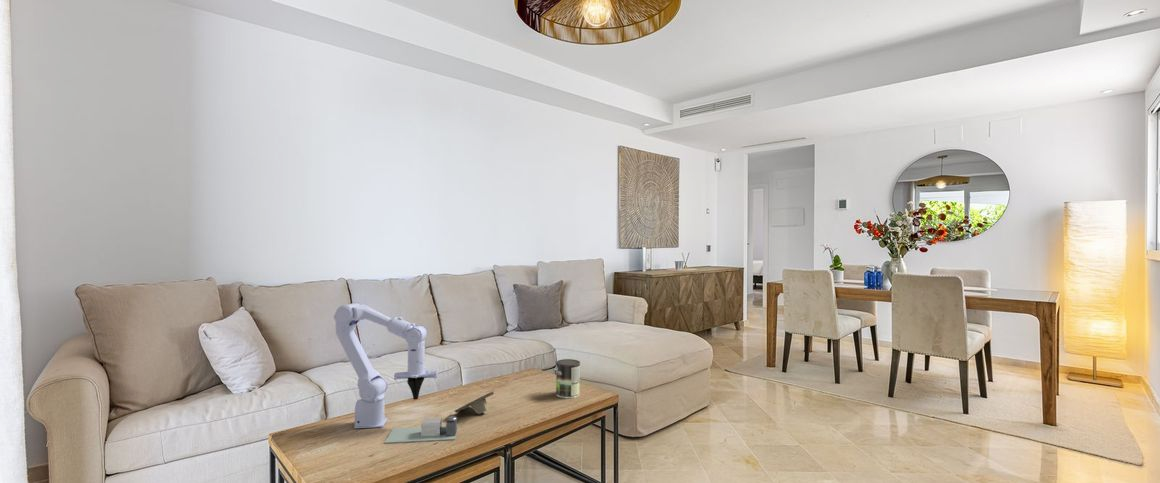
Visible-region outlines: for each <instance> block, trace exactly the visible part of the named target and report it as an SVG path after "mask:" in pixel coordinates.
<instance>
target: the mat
mask: <svg viewBox="0 0 1160 483" xmlns="http://www.w3.org/2000/svg"><path fill="white" fill-rule="evenodd" d="M442 427H446V425H442ZM458 428H459V424H457V430H458ZM457 432H458V431H457ZM457 432H456V435H455V436H446V434H440V437H421V426H413V427H412V426H411V427H410V426H408V427H393V428H392V429H391V431H390V433H389V434H388V436H387V437H386V440H384V444H385V445H388V444H403V443H405V444H406V443H423V442H424V443H425V442H441V441H442V442H443V441H444V442H445V441H455V440H456V437H457V434H458V433H457Z"/></svg>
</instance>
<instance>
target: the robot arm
mask: <svg viewBox="0 0 1160 483" xmlns="http://www.w3.org/2000/svg"><path fill="white" fill-rule="evenodd" d="M333 319H334V321H335V334H336V337H337V338H338V340H339V343H340V344H341V346H342V348H343V350H344V352H345V354H346V356H347V358H348V359H349V361H350V363H351V366H352V367H353V369H354V371H355V373H356V375H357V377H358V379H357V384H356V385H357V387H358V393H359V394H358V396H359V397H360V399H356V400H357V401H356V402H355V406H354V426H353V429H368V428H369V429H371V428H372V429H373V428H374V429H375V428H383V427H384V425H385V424H386V423H387V421H388V419H389V418H388V417H385V404H386V403H385V402H386V401H385V400H386V399H385V398H386V396H385V393H386V391H387V390H388V387H389V386H388V385H389V384H388V381H387V379H385V378H384V377H383V376H382V375H381V372H379V371H377V370H376V369H375V368H374V367H373V365H372V364H371V362H370V359H369V357H368V355H367V353H366V351H365V349H364V348H363V346H362V344H361V342H360V340H359V338H358V336H357V334H356V333H355V329H356V327H357V326H358V323H359V322H360V321H362V320H368V321H370V322H373V323H375V324H378V325H380V326H383V327H385V328H386V330H387V332H388V333H391V334H393V335H395V336H398V337H400V338H402V339H405V341H406V343H407V371H402V372H401V371H400V372H395V373H394V374H393V380H396V381H397V380H402V379H403V380H404V379H407V380H406V382H407V385H408V387H409V389H410V390H411V395H412V399H413V400H419V396H420V391H421V389H422V385H423V383H424V380H425V379H438V376H439V375H438V371H437V370H436V371H432V370H425V369H426V368H425V366H426V365H425V360H426V359H425V356H426V355H425V354H426V352H425V351H426V349H425V347H426V345H425V344H426V343H425V342H426V339H427V336H428V331H427V328H426V327H425V326H423V325H422V324H416V323H415V322H412V323H411V322H409V321H407V320H405V319H404V317H402V316H398V317H397V316H395V317H392V318H391V317H390V316H387V315H385V313H382V312H380V311H378V310H375V309H374V308H372V307H371V306H368V305H367V304H363V303H361V302H358V301H355V302H352V303H348V304H344V305H340V306H338V307H337V309H336V311H335V313H334V314H333Z"/></svg>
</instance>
